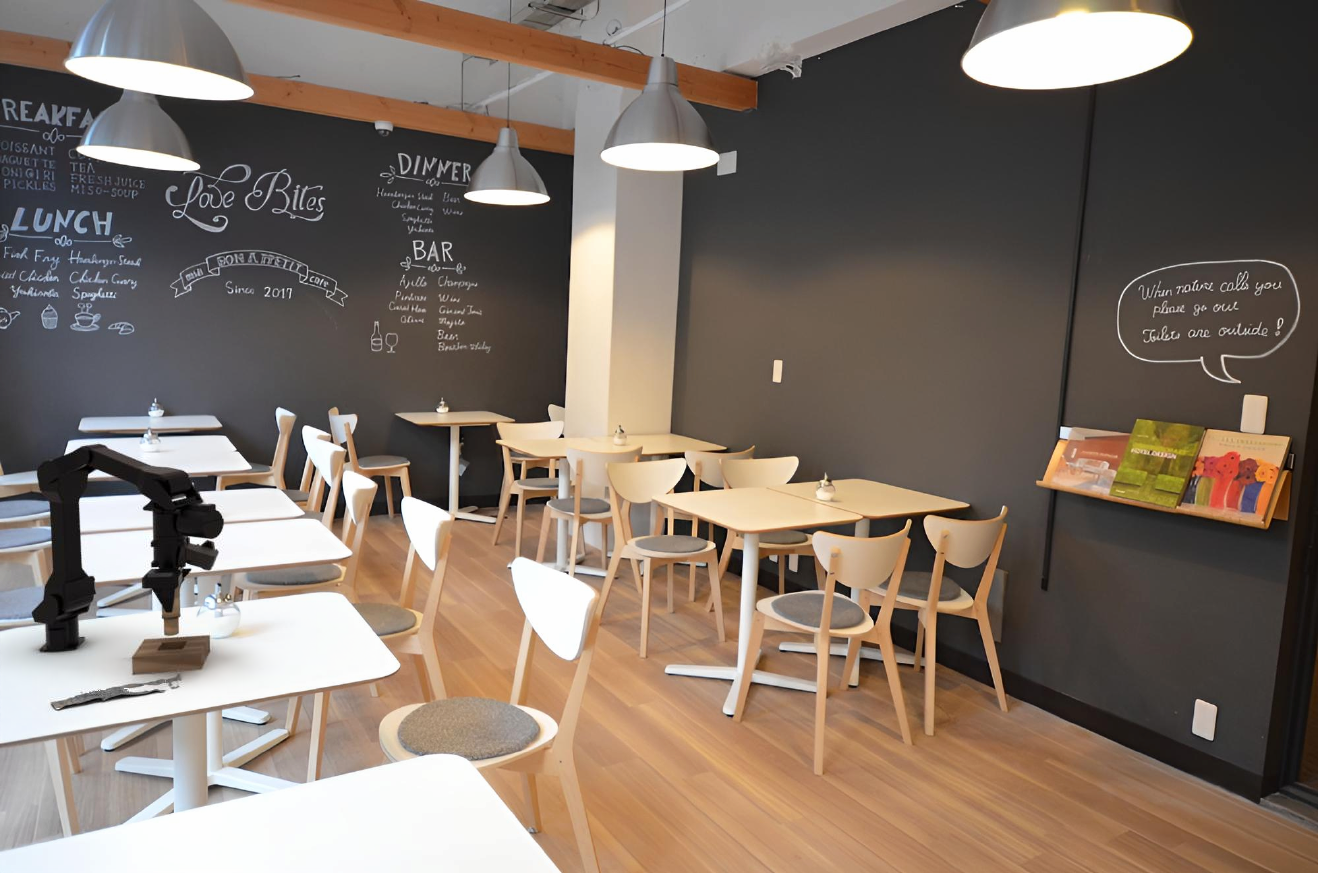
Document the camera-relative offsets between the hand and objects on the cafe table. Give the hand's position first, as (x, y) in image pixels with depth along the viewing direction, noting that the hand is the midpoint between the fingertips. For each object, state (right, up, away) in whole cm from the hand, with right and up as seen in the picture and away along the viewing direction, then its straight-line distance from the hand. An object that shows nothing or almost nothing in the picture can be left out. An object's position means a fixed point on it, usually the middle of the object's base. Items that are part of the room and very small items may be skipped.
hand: (171, 609), depth 172 cm
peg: (0, -5, +1) cm, 5 cm away
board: (0, -11, +1) cm, 11 cm away
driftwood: (-2, -14, -14) cm, 19 cm away
